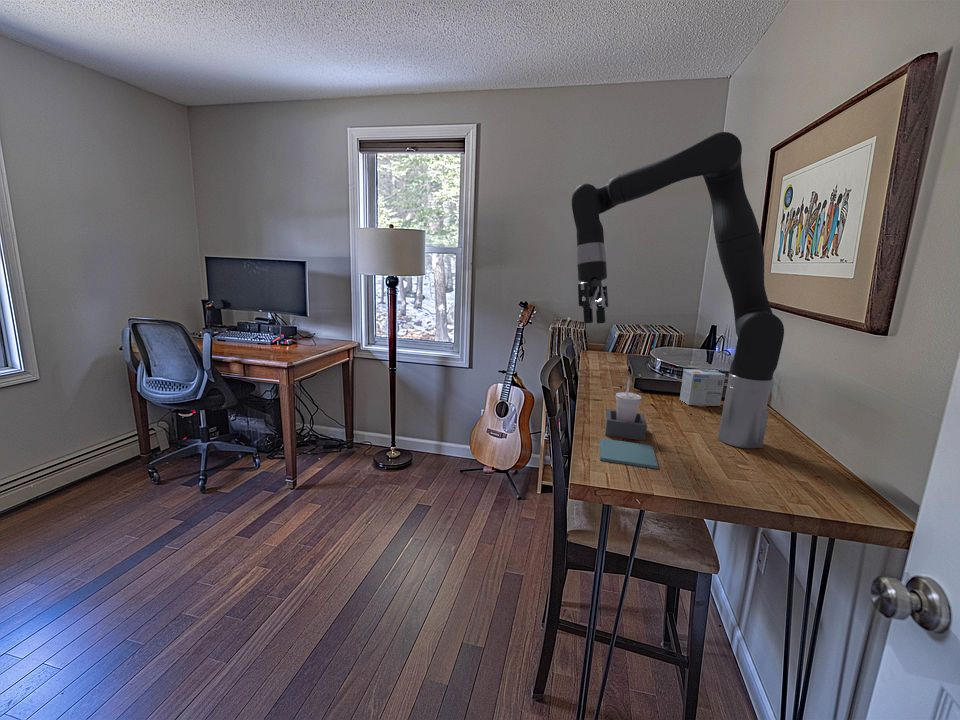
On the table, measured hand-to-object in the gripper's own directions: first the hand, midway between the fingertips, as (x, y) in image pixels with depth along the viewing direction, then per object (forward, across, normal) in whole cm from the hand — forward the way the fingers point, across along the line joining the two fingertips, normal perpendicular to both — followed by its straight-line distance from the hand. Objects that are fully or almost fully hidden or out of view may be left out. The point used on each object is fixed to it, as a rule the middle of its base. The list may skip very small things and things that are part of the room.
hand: (595, 323), depth 125 cm
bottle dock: (+29, -1, -7) cm, 29 cm away
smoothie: (+29, -1, -7) cm, 30 cm away
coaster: (+31, -15, -12) cm, 36 cm away
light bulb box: (+27, +42, -16) cm, 53 cm away
